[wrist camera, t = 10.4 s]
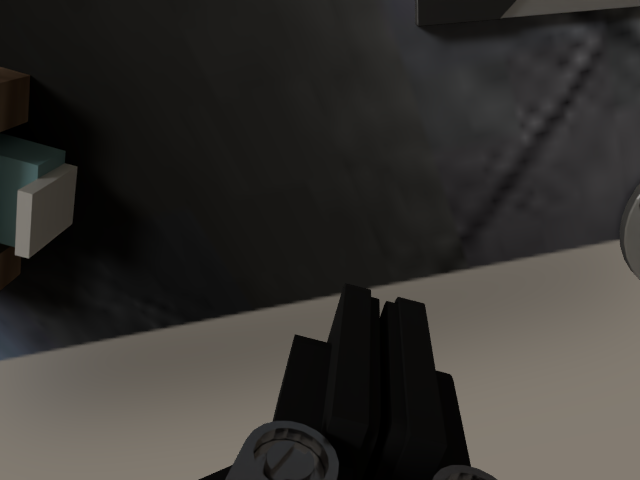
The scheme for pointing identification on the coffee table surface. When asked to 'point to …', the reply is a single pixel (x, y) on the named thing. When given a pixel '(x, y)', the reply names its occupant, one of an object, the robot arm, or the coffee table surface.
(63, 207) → the teal shell
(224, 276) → the coffee table surface
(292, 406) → the robot arm
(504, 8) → the picture frame
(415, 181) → the coffee table surface
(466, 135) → the coffee table surface
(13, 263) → the walnut rack
